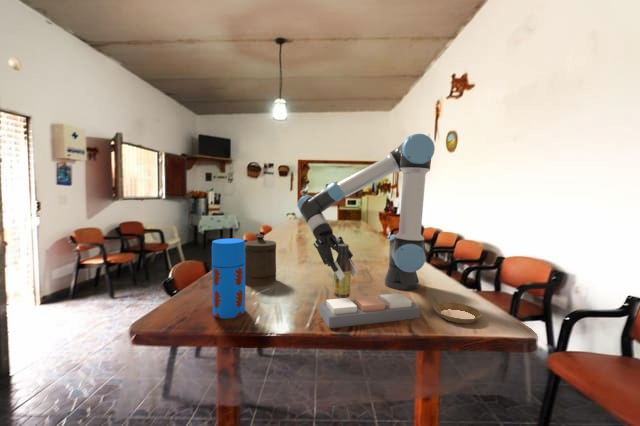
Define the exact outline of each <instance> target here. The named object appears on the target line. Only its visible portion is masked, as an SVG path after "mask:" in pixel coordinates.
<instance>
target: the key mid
mask: <svg viewBox="0 0 640 426" xmlns="http://www.w3.org/2000/svg"><path fill="white" fill-rule="evenodd" d="M378 298H379V297H377V296H376V295H366V296H356V297H353V300H354V304H355V305H356V306H357V307H358V308H359V309H360V310H361V311H362V312H365V311H375V310H385V303H384V302H382V301H381V300H380V299H378Z"/></svg>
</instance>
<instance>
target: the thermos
mask: <svg viewBox="0 0 640 426" xmlns="http://www.w3.org/2000/svg"><path fill="white" fill-rule="evenodd" d="M245 242H246V241H245V239H243V238H232V237H231V238H219V239H215V240H212V241H211V279H212V280H211V282H212V284H211V285H212V286H211V289H212V291H211V292H212V313H213V316H214V317H215V318H218V319H222V320H223V319H234V318H238V317H240V316H242V315H244V313H245V311H246V284H245Z"/></svg>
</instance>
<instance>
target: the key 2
mask: <svg viewBox="0 0 640 426" xmlns="http://www.w3.org/2000/svg"><path fill="white" fill-rule="evenodd" d="M379 298H380V300H381V301H382V302H384V303H385V305H386V306H387V307H388V308H389V309H394V308H404V307H412V303H413V301H412V300H411V299H409V298H407V296H405V295H403V294H401V293H390V294H379Z"/></svg>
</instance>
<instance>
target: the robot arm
mask: <svg viewBox="0 0 640 426" xmlns="http://www.w3.org/2000/svg"><path fill="white" fill-rule="evenodd" d="M435 150H436V148H435V143H434V142H433V139H432V138H431V137H429V136H428V135H426V134H425V133H413V134H411V135H409V136H407V137H406V138H405V139H404V140H403V142H402V143H401V144H400V145H399V146H397V148H395V149H393V150H392V151H390V152H388V154H387V156H385V157H384V158H382V159H380V160H378V161H376V162H374V163H372V164H371V165H368V166H367V167H365V168H363V169H361V170H360V171H358V172H356V173H353V174H352V175H350V176H349V177H347V178H344V179H342V180H341V181H339V182H335V181H334V182H332V183H330V184H328V185H327V186H326V187H324V188H323V189H322V190H320V191H319V192H318V193H316V194H314V195H313V196H312V195H309V194H308V195H307V194H306V195H305V196H301V197H300V199H299V200H298V201H297V207H298V210H299V212H300V214H301V215H302V217H303V219H304V221H305V222H306V224H307V226H308V227H309V229H310V231H311V232H312V235H313V236H314V239H315V241H314V242H313V246H314V247H315V248H316V249H317V252H318V254H319V256H320V258H321V260H322V263H323V264H324V265H327V267H329V268H331V270H332V271H333V272H335V273H336V275H337V276H338V278H339V280H342V279H343V278H344V277H345V275H344V273H343V272H342V270H341V268H340V266H339V265H338V263H337V261H336V260H335V258H334V255H333V252H332V250H333V251H335V252H336V253H337V254H338V244H346V243H345V242H344V239H343V237H342V236H338V237H337V236H335V235H334V234H333V233H334V232H333V229H332V227H331V225H330V224H329V223H328V220H327V219H326V217H325V216H324V214H323V212H325V211H326V210H327V209H328V208H330V207H331V206H333V205H334V204H337V203H338V202H340V201H341V200H344V199H345V198H347V197H349V196H351V195H352V194H355V193H357V192H359V191H360V190H362V189H365V188H367V187H369V186H370V185H372V184H374V183H376V182H378V181H379V180H382V179H384V178H386V177H387V176H389V175H391V174H394V173H395V172H397V173H400V172H402V186H401V197H400V198H401V200H400V210H399V211H400V212H399V226H398V232H397V233H396V234H390V236H389V241H388V242H389V250H388V251H389V254H388V255H389V256H388V259H389V261H388V269H387V272H386V274H385V277H384V285H385V286H387V287H389V288H392V289H395V290H401V291H402V290H404V291H405V290H406V291H408V290H410V291H411V290H416V289H418V288H419V287H420V280H419V276H418V274H417V273H418V272H417V271H419V270H420V269H422V268H423V266H425V262H426V258H427V257H426V253H425V252H426V251H424V248H425V238H424V236H423V235H422V221H423V212H424V211H423V209H424V200H425V199H424V197H425V188H426V187H425V184H426V177H427V176H426V175H427V173H428V172H430V171H431V164H432V163H431V161H432V159H433V156H434V154H435ZM353 256H354V255H353V253H352V251H351V250H350V248H349V249H348V258H349V259H350V262H351V277H353V278H354V277H356V275H358V274H359V272H358V270H357V269H356V267H355V263H354V262H353V261H352V257H353Z"/></svg>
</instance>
